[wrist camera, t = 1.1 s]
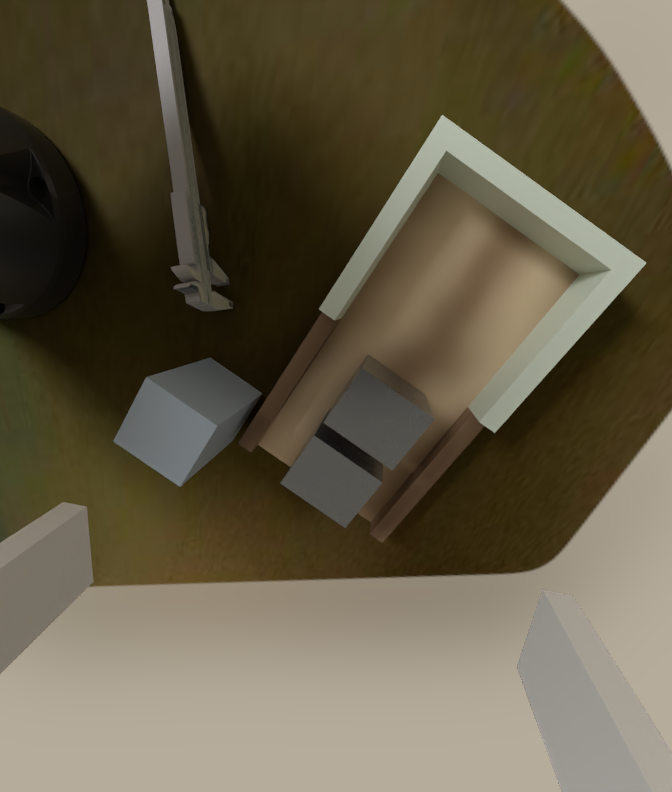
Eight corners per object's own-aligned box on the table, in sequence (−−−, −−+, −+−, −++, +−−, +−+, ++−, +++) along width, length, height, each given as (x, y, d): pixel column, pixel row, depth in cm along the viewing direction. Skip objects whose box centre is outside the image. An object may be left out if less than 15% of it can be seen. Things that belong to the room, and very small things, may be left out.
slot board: (249, 432, 30) (237, 443, 28) (433, 148, 23) (437, 131, 21) (382, 524, 30) (382, 543, 28) (601, 270, 24) (624, 266, 21)
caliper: (236, 308, 28) (195, 309, 22) (223, 310, 28) (178, 312, 22) (169, -15, 24) (93, -125, 18) (153, -10, 24) (73, -116, 18)
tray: (327, 308, 26) (318, 309, 23) (434, 143, 23) (442, 114, 19) (481, 416, 26) (494, 433, 23) (608, 268, 23) (646, 263, 20)
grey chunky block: (337, 397, 27) (323, 422, 22) (368, 354, 26) (362, 368, 21) (391, 435, 28) (392, 470, 22) (424, 393, 26) (434, 419, 21)
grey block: (182, 406, 30) (113, 441, 23) (210, 357, 29) (146, 377, 21) (232, 440, 31) (180, 487, 23) (262, 393, 29) (217, 425, 21)
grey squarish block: (301, 447, 29) (280, 483, 23) (329, 408, 28) (314, 435, 22) (354, 483, 29) (345, 528, 23) (383, 445, 28) (382, 482, 22)
